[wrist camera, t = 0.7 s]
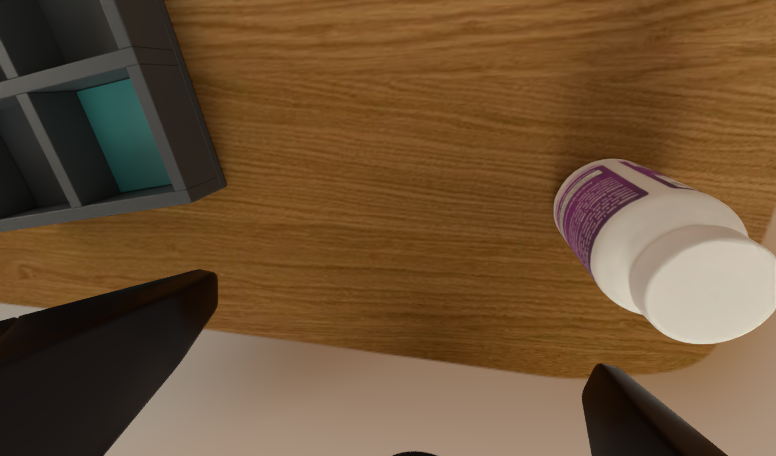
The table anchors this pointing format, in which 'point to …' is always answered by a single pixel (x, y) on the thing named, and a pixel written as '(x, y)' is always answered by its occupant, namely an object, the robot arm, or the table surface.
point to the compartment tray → (96, 113)
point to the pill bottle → (666, 251)
